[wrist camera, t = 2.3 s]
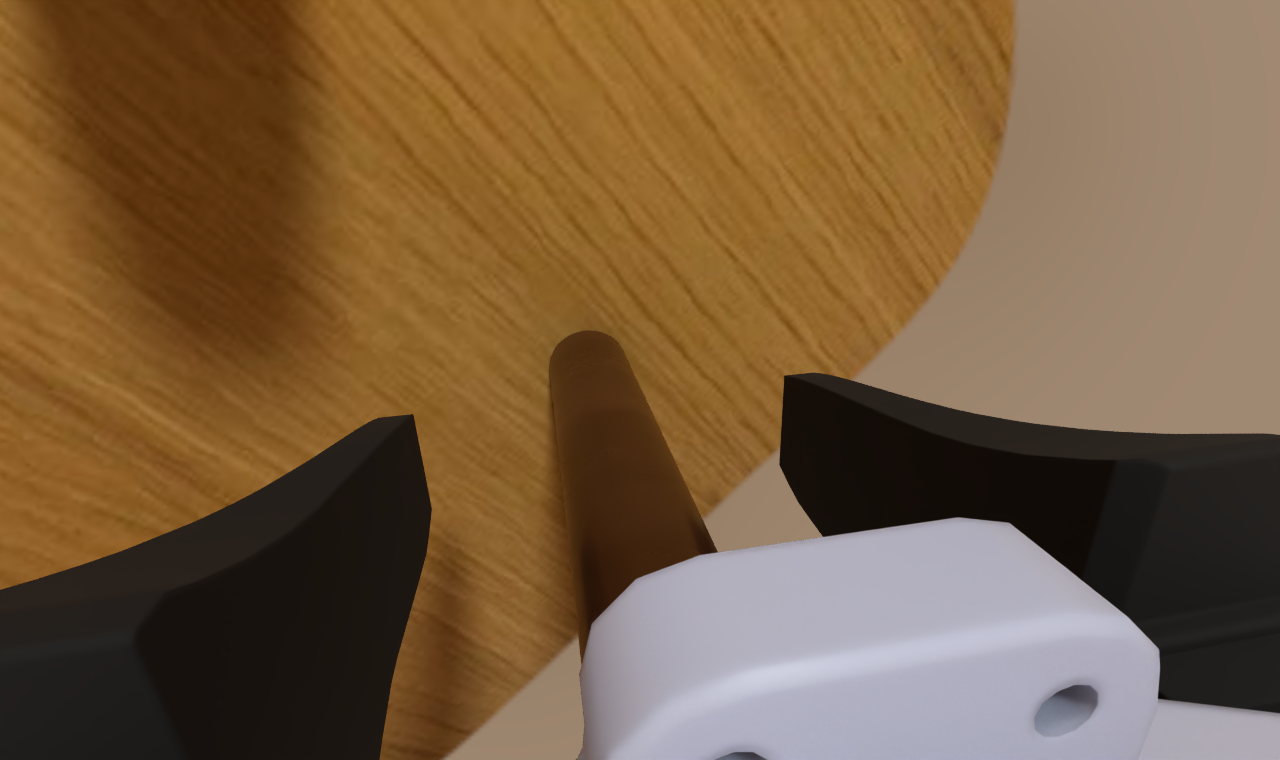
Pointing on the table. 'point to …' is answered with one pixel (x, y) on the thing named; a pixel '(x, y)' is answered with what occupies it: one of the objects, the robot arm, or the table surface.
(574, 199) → the table surface
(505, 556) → the table surface
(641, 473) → the stirring stick
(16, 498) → the table surface
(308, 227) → the table surface
